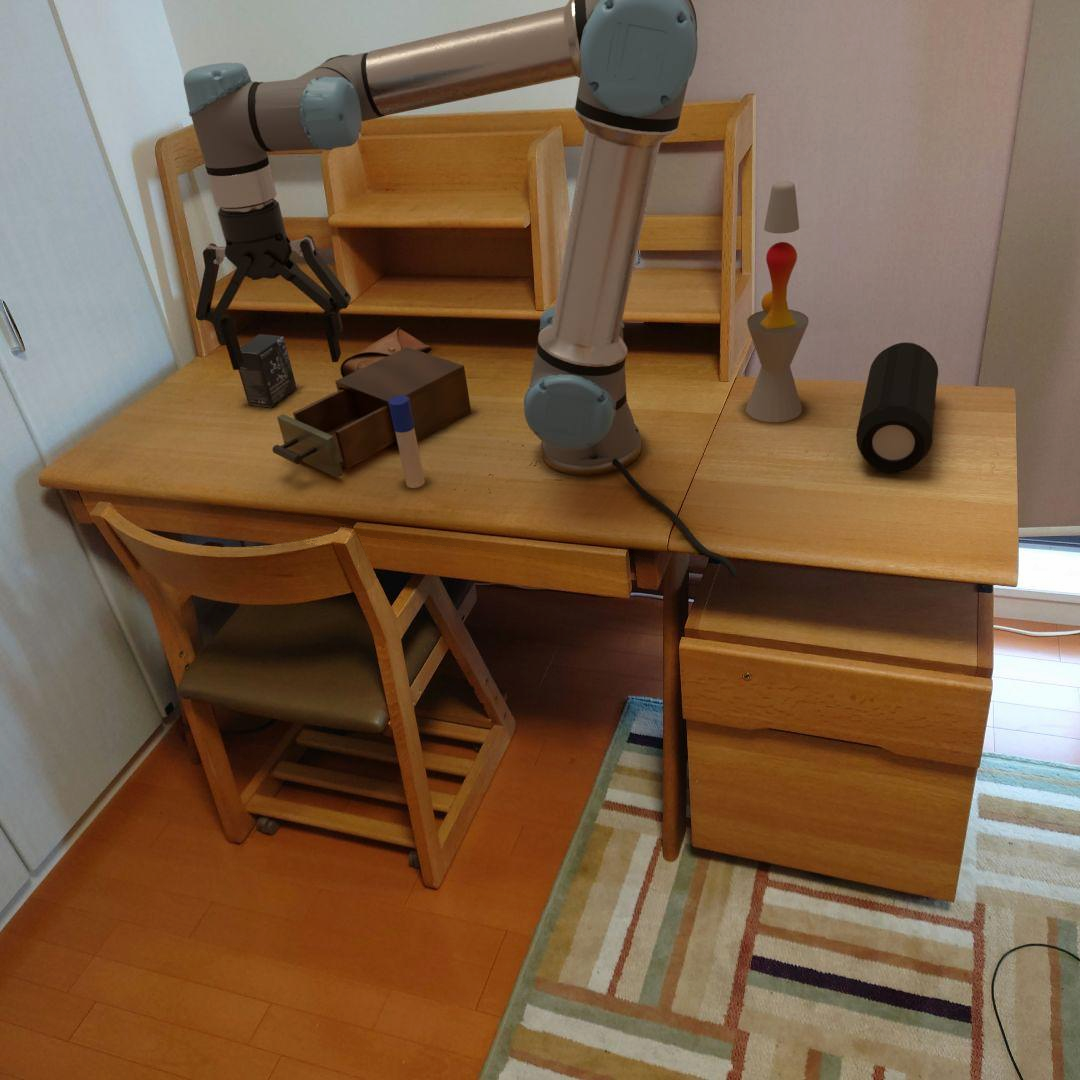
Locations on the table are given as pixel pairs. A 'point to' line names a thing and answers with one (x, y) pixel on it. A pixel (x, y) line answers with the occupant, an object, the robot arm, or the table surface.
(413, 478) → the marker
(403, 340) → the sunglasses case
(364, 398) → the drawer
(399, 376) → the cabinet
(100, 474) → the table surface
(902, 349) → the portable speaker
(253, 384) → the box
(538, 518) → the table surface
